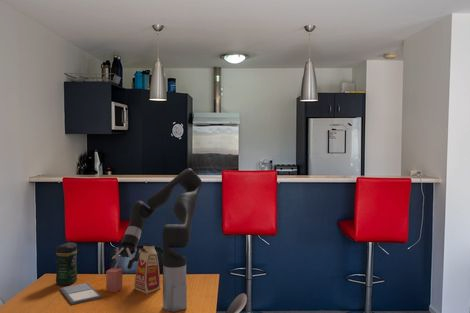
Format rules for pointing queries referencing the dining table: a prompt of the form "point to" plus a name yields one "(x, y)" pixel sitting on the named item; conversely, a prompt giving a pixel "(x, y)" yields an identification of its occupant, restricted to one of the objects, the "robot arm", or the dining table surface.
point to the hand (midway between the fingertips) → (120, 268)
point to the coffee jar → (66, 264)
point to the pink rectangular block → (114, 279)
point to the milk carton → (147, 271)
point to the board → (80, 293)
